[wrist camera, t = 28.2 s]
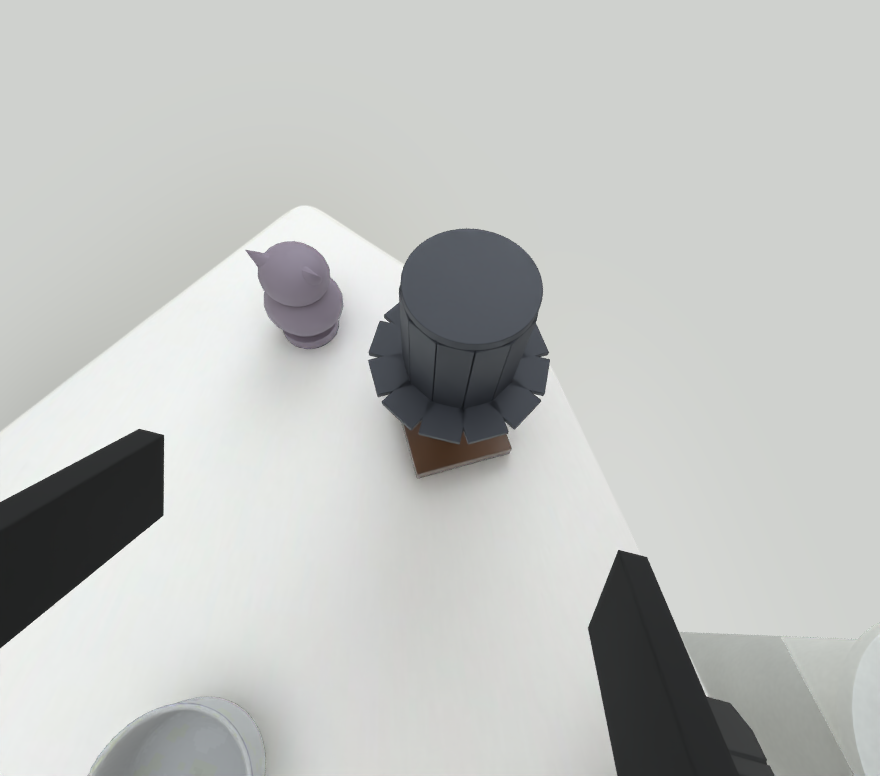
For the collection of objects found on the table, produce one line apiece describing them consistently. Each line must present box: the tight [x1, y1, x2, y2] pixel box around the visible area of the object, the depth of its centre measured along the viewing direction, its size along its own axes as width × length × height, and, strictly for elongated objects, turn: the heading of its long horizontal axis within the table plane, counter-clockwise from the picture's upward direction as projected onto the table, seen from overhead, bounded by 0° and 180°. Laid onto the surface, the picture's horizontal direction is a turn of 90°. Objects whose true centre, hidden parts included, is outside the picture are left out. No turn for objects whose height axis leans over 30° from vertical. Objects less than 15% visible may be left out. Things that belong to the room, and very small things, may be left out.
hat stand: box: [402, 422, 512, 478], centre depth 41 cm, size 10×10×23 cm
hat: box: [368, 229, 550, 444], centre depth 35 cm, size 14×14×10 cm
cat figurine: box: [246, 241, 343, 349], centre depth 51 cm, size 8×8×12 cm
